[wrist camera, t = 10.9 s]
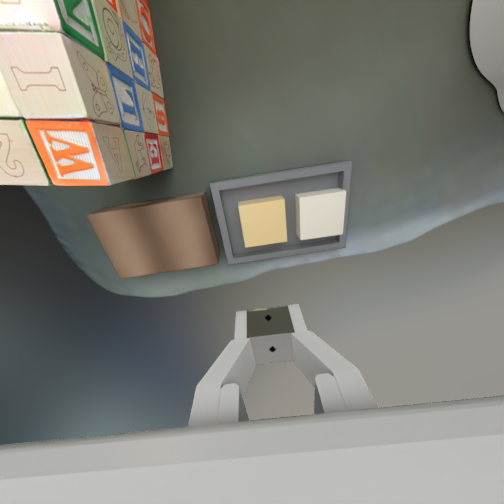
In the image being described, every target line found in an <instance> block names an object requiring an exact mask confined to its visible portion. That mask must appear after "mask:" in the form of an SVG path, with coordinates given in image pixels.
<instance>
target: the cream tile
mask: <svg viewBox="0 0 504 504" xmlns="http://www.w3.org/2000/svg"><path fill="white" fill-rule="evenodd" d="M345 201H346V191H345V190H343V189H340V188H333V189H326V190H319V191H313V192H306V193H299V194H295V209H296V234H297V236H298V237H299V239H300V240H306V239H313V238H320V237H327V236H334V235H341V234H343V226H344V214H345Z"/></svg>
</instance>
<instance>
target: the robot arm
mask: <svg viewBox="0 0 504 504" xmlns="http://www.w3.org/2000/svg"><path fill="white" fill-rule="evenodd" d="M470 43H471V49H472V54H473V57H474V60H475V63H476V65H477V67H478V69H479V70H480V72H481V73H482V74H483V75H484V77H486V78H487V79H488V80H489V81H490V82H491V83H492V84H493V85H494V86H495V88H496V89H497V94H498V99H499V103H500V107H501V109H502V111H503V112H504V0H473V3H472V9H471V17H470ZM285 361H293V362H294V363H295V364H296V365H297V367H298V368H299V369H300V370H301V372H302V373H303V374H304V375H305V376H306V378H307V379H308V380H309V381H310V382H311V383H312V385H313V386H314V387H315V401H314V413H315V414H312V415H301V416H291V417H281V418H272V419H260V420H252V421H251V420H250V421H249V418H248V414H247V411H246V408H245V404H244V401H243V398H242V395H243V393H244V391H245V389H246V387H247V385H248V383H249V380H250V378H251V376H252V374H253V372H254V370H255V368H256V365H259V364H266V363H272V362H285ZM0 504H504V396H494V397H484V398H474V399H464V400H455V401H443V402H433V403H423V404H413V405H404V406H393V407H383V408H378V407H377V405H376V403H375V401H374V399H373V397H372V395H371V393H370V391H369V389H368V387H367V385H366V383H365V381H364V379H363V377H362V375H361V373H360V371H359V369H358V368H356V367H355V366H354V365H353V364H352V363H350V362H349V361H348V360H347V359H345V358H344V357H343V356H342V355H340V354H339V353H338V352H337V351H335V350H334V349H333V348H332V347H330V346H329V345H328V344H327V343H325V342H324V341H323V340H322V339H320V338H319V337H318V336H317V335H316V334H314V333H313V332H312V331H307V328H306V325H305V322H304V319H303V316H302V313H301V310H300V307H299V305H298V304H291V305H284V306H277V307H269V308H262V309H251V310H245V311H237V312H236V319H235V336H234V340H231V341H230V342H229V344H228V345H227V346H226V348H225V349H224V350H223V352H222V353H221V354H220V356H219V357H218V358H217V360H216V361H215V362H214V364H213V365H212V366H211V368H210V369H209V370H208V372H207V373H206V374H205V376H204V377H203V378H202V380H201V381H200V382H199V384H198V385H197V387H196V391H195V396H194V401H193V405H192V410H191V415H190V420H189V424H188V427H180V428H170V429H159V430H150V431H139V432H130V433H120V434H109V435H99V436H89V437H79V438H69V439H59V440H49V441H38V442H29V443H18V444H9V445H0Z"/></svg>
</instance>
